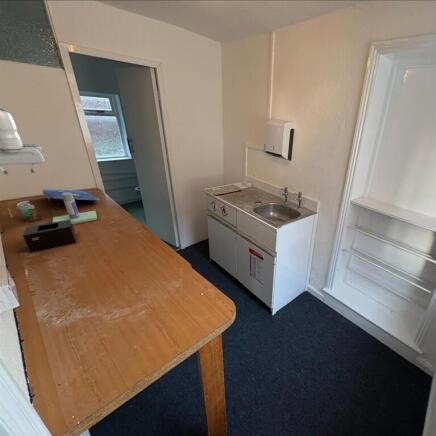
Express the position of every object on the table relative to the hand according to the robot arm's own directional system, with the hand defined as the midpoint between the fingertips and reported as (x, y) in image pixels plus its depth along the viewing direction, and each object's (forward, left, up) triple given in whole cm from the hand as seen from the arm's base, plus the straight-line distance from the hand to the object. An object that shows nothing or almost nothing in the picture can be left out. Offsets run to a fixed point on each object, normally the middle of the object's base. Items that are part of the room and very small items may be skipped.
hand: (20, 173), depth 116 cm
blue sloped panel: (+9, +49, -36) cm, 61 cm away
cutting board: (+13, +7, -32) cm, 35 cm away
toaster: (+5, -23, -32) cm, 39 cm away
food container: (-7, +22, -32) cm, 39 cm away
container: (+13, +7, -30) cm, 34 cm away
